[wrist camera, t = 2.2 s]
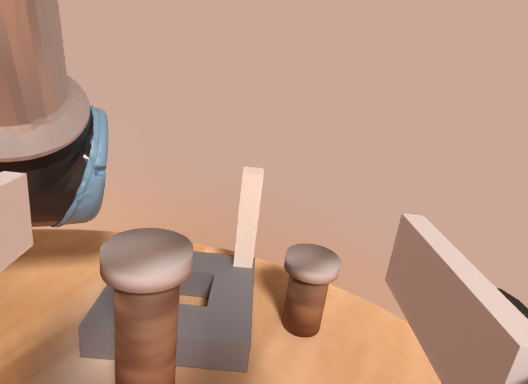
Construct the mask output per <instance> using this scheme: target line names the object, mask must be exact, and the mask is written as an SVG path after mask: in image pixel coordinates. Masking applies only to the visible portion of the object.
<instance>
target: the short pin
mask: <svg viewBox="0 0 528 384" xmlns="http://www.w3.org/2000/svg"><path fill="white" fill-rule="evenodd" d="M340 264H341V260H340V258H339V257H338V255H337V254H336V253H334V252H333V251H331V250H329V249H327V248H325V247H322V246H318V245H313V244H296V245H293V246H291V247H289V248H288V249H287V251H286V257H285V263H284V267H285V270H286V271H287V272H288V273H289V274H290V277H289V284H288V290H287V296H286V302H285V308H284V314H283V320H282V323H283V326H284V328H285V329H286V330H287V331H288V332H289V333H291V334H293V335H295V336H299V337H311V336H314V335H316V334H317V333H318V332H319V329H320V324H321V319H322V314H323V310H324V305H325V300H326V295H327V290H328V285H329V283H331V282H333V281H335V280H336V279H337V277H338V274H339V269H340Z"/></svg>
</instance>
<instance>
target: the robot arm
mask: <svg viewBox="0 0 528 384" xmlns="http://www.w3.org/2000/svg"><path fill="white" fill-rule="evenodd" d="M107 153H108V121H107V115H106V113H105V112H104V111H103V110H101V109H99V108H95V107H94V106H90V105H89V102H88V99H87V96H86V93H85V92H84V90H83V89H82V88H81V86H80V85H79V84H78V83H77V82H76V81H74V80H73V79H72V78H71V77H69V76H68V75H67V73H66V65H65V57H64V48H63V40H62V31H61V23H60V15H59V7H58V0H0V272H1V271H3V270H4V269H5V268H6V267H7V266H9V265H10V264H11V263H12V262H14V261H15V260H16V259H17V258H18V257H20V256H21V255H22V254H23V253H25V252H26V251H27V250H28V249H29V248H31V247H32V246H33V235H32V227H38V226H51V227H60V226H62V225H65V224H76V223H84V222H88V221H90V220H92V219H93V218H95V217H96V215H97V214H98V213H99V210H100V208H101V204H102V199H103V194H104V187H105V177H106V176H105V169H106V162H107ZM385 281H386V283H387V284H388V286H389V288H390V290H391V292H392V293H393V295H394V297H395V299H396V301H397V302H398V304H399V306H400V308H401V310H402V312H403V313H404V315H405V317H406V319H407V321H408V323H409V325H410V326H411V328H412V330H413V332H414V334H415V335H416V337H417V339H418V341H419V343H420V345H421V346H422V348H423V350H424V352H425V354H426V356H427V357H428V359H429V361H430V363H431V365H432V367H433V368H434V370H435V372H436V374H437V376H438V377H439V379H440V381H441V383H442V384H528V308H526V307H525V306H524V305H523V304H522V303H521V302H520V301H519V300H518V299H516V298H514V297H513V296H511V295H510V294H508V293H506V292H505V291H503V290H502V289H498V288H496V287H495V286H494V285H493V284H492V283H491V282H490V281H489V280H488V279H487V278H486V277H484V276H483V275H482V274H481V272H480V271H478V269H477V268H476V267H474V266H473V264H471V263H470V262H469V261H468V260H467V259H466V258H465V257H464V256H463V255H462V254H461V253H460V252H459V251H458V250H457V249H456V248H455V247H454V246H453V245H452V244H451V243H450V242H449V241H448V240H447V239H446V238H445V237H444V236H443V235H442V234H441V233H440V232H439V231H438V230H437V229H436V228H435V227H434V226H433V225H432V224H431V223H430V222H429V221H428V220H427V219H426V218H425V217H424V216H423V215H414V214H404V213H402V215H401V219H400V224H399V227H398V231H397V235H396V239H395V243H394V247H393V251H392V255H391V259H390V262H389V266H388V270H387V274H386V279H385Z"/></svg>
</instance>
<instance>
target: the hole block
mask: <svg viewBox="0 0 528 384" xmlns="http://www.w3.org/2000/svg"><path fill="white" fill-rule="evenodd" d="M263 176H264V169H262V168H253V167H244V170H243V177H242V186H241V196H240V206H239V215H238V226H237V236H236V245H235V254H234V256H233V255H224V254H214V253H205V252H195V251H193V263H192V272H191V274H190V276H189V277H188V278H187V279H186V280H185V281H184V282H183V283H181V284H180V289H179V295H189V296H199V297H209V300H208V304H207V307H205V306H195V305H185V304H179V309H178V329H177V349H176V366H183V367H194V368H204V369H215V370H226V371H236V372H247V368H248V360H249V352H250V345H251V327H252V307H253V287H254V268H255V258H253V257H254V249H255V241H256V233H257V224H258V216H259V208H260V200H261V192H262V184H263ZM78 329H79V346H80V357H88V358H98V359H109V360H115V332H114V288H112V287H111V286H109V285H108V284H107V286H106V287H105V289H104V290H103V292H102V293H101V295H100V296H99V297H98V299H97V300H96V302H95V303H94V305H93V306H92V308H91V309H90V311H89V312H88V314H87V315H86V317H85V318H84V319H83V321H82V322H81V324H80V325H79V327H78Z"/></svg>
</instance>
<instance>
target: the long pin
mask: <svg viewBox="0 0 528 384" xmlns="http://www.w3.org/2000/svg"><path fill="white" fill-rule="evenodd" d="M192 263H193V245H192V243H191V241H190V240H189V239H188V238H186V237H185V236H183V235H181V234H179V233H177V232H174V231H170V230H165V229H158V228H141V229H133V230H128V231H125V232H121V233H118V234H116V235H114V236H112V237H110V238H108V239H107V240H106V241H105V242H104V243H103V244H102V245H101V247H100V275H101V277H102V279H103V281H104V282H105V283H106V284H108V285H109V286H111V287H112V288H114V332H115V383H116V384H175V369H176V349H177V329H178V309H179V289H180V284H181V283H183V282H184V281H185V280H186V279H187V278H188V277H189V276H190V274H191V272H192Z"/></svg>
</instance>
